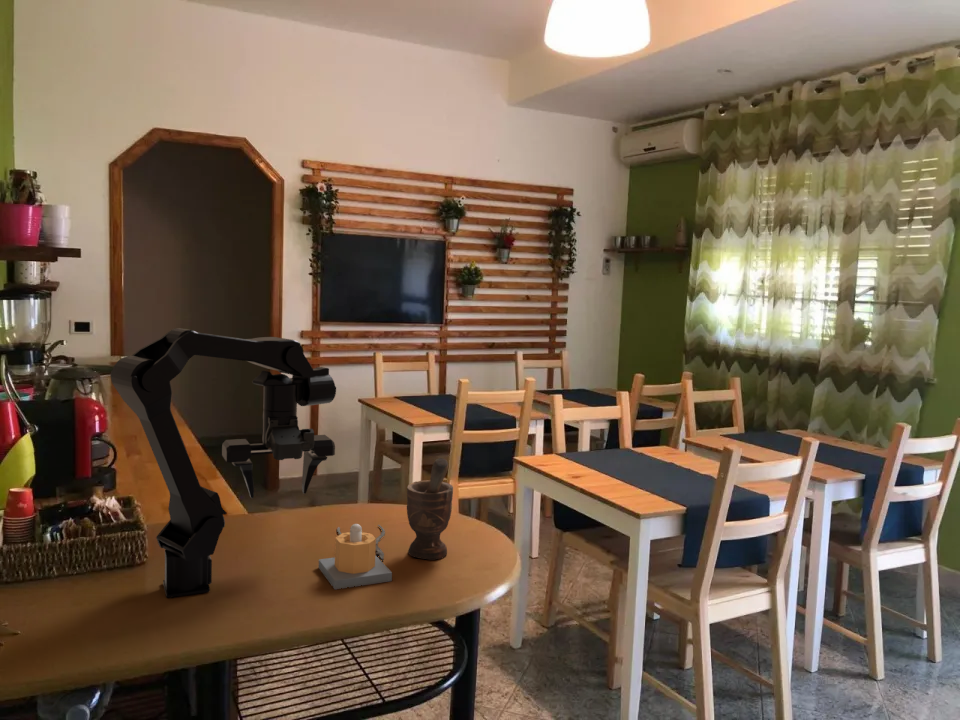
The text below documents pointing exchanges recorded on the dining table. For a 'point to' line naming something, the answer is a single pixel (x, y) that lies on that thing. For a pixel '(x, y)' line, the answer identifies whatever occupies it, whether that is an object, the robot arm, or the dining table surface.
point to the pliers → (378, 550)
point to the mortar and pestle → (429, 512)
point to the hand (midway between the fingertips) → (278, 495)
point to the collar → (355, 553)
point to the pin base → (350, 580)
